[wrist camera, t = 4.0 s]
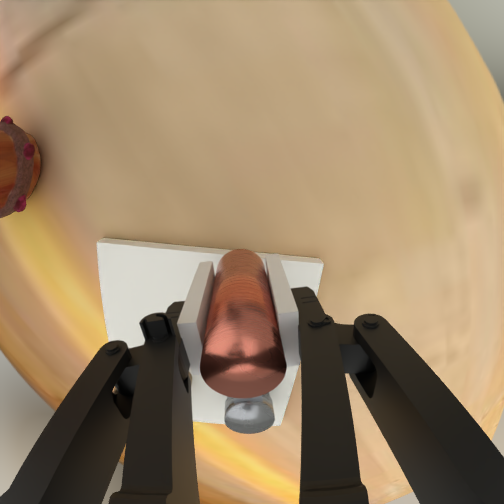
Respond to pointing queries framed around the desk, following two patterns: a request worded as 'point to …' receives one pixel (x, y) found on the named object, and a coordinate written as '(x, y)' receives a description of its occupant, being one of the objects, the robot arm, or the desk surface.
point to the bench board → (176, 289)
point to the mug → (16, 167)
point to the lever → (243, 342)
